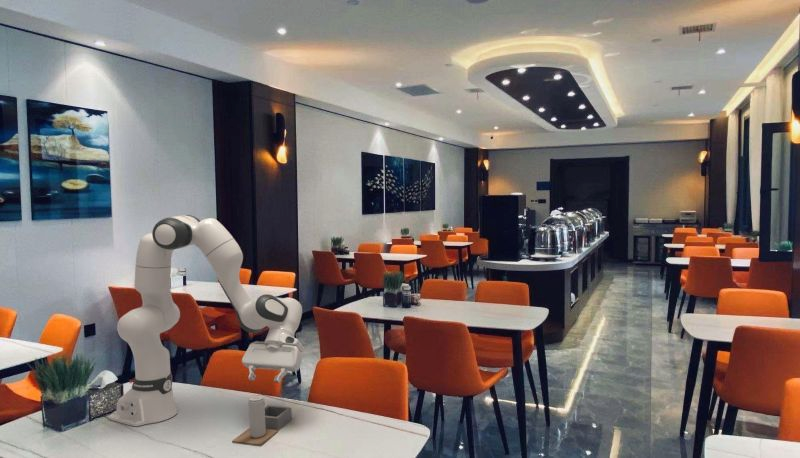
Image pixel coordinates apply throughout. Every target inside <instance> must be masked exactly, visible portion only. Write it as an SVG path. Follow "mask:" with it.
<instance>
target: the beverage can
mask: <svg viewBox="0 0 800 458" xmlns="http://www.w3.org/2000/svg"><path fill="white" fill-rule="evenodd" d="M247 401H248V403H247V404H248V422H249V428H250V436H251V437H253V438H260V437H263V436H264V435H265V433H266V427H265V407H266V406H265V405H266V404H265V396H264V395H262V394H261V395H260V394H255V395H252V396H250V397H249V398H248V400H247Z"/></svg>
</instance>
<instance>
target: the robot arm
mask: <svg viewBox="0 0 800 458" xmlns="http://www.w3.org/2000/svg"><path fill="white" fill-rule="evenodd" d="M192 245H193V246H195V247H197V248H198V249H199V250H200V252H201V253H202V255H204V257H205V258H206V260H207V261H208V263H209V264H210V267H211V268H212V269H213V271H214V273H215V276H216V278H217V281H218V283H219V285H220V287H221V289H222V291H223V292H224V294H225V296H226V297H227V299H228V301H229V302H230V304H231V306H232V308H233V310H234V311H235V315H236V318H237V322H238V324H239V327H240V328H241V329H242V330H243V331H245V332H247V333H249V334H258V333H260V332H261V331H263V330H264V329H265V328H266V327H268V328H269V330H268V333H267V335H266V338H265V339H264V341H263V340H262V341H261V340H260V341H259V340H254V341H253V342H250V343H249V345H248V348H247V349H246V351H245V353H244V354H243V356H242V359H241V363H242V364H243V366H244V367H245V368H248V371H249V375H248V380H250V381H255V379H256V378H257V375H256V374H255V373H254V372H255V371H256V370H257V369H261V370H271V371H272V370H273V371H280V372H279V374H278V375H276V374H275V376H274V378H273V381H274V383H277V384H280V383H281V381H282V379H283V378H284V377H285V376H286V375H287V374H288V372H295V373H296V372H298V371H299V369H300V368H301V365H302V361H303V352H304V351H305V350H304V349H305V348H304V346H303V344H302V343H301V342H300V340H299V339H298V338H295V334H296V331H297V330H298V328H299V326H300V323H301V319H302V316H303V305H302V304H301V303H300V301H298V300H297V299H295V298H292V297H284V298H283V297H278V296H274V295H272V294H262V295H260V296H259V297H257V298H256V299H254V300H252V299H251V298H250V297H249V294H247V291H246V290H245V288H244V286H243V285H242V283H241V280H240V271H241V267H242V265H243V260H244V254H243V251H242V249H241V246H240V245H239V243H238V242H237V241H236V239H235V238H234V237H233V235H232V234H231V233H230V231H228V230H227V228H226V227H225V226H224V225H223V224H222V223H221V222H220V221H218V220H217V219H216V218H213V217H209V218H204V219H199V218H198V217H196V216H193V215H191V214H182V215H181V214H180V215H179V214H177V215H174V216H171V217H165V218H163V219H162V218H161V220H159V221H158V222H156V223H155V225H154V226H153V229H152V232H149V233H146V234H144V235H142V236H141V238H140V239H139V243H138V247H137V250H136V257H135V268H134V270H135V271H134V289H135V291H136V292H138V293H139V294H140V296H141V300H142V304H141V306H140V307H137V308H134V309H131V310H129V311H128V312H126V313H125V314H123V315H122V316H121V317H120V318H119V319H118V321H117V325H116V330H117V333H118V336H119V337H120V338H121V340H123V341H124V342H126V343H127V344H128V346H129V348H130V349H131V352H132V356H133V361H134V373H135V376H134V378H132V379H129V381H128V382H129V384H132V386H131V388H130V389H129V390H128V391H126V392H125V393H123V395H122V396H121V397H120V398H119V399H118V400H117V403H116V410H114V411H113V412H112V413H111V414H110V415H109V416H108V419H109V420H110V421H113V422H114V421H115V422H118V423H121V424H125V425H128V426H133V427H140V426H144V425H149V424H156V423H159V422H163V421H166V420H168V419H171V418H172V417H174V416H175V415H176V414H178V408H177V404H176V401H175V397H174V392H173V374H172V371H171V360H170V359H171V358H170V357H171V356H170V351H169V349H167V348H166V347H165V346H164V345H163V343H162V340H161V338H160V337H161V334H162V333H164V332H166V331H169V330H171V329H172V328H173V327H174V326H175V325H176V324H177V323H178V322H179V321H180V318H181V311H180V308H179V307H178V304H176V303H175V302H174V299H173V297H172V291H171V273H172V271H171V270H172V269H171V268H172V256H173V252H174V251H175V250H177V249H183V248H184V249H185V248H187V247H189V246H192Z"/></svg>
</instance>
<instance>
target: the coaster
mask: <svg viewBox="0 0 800 458" xmlns="http://www.w3.org/2000/svg"><path fill="white" fill-rule="evenodd" d="M278 433H279V430H271V429H266V433H265V435H264V436H263V437H260V438H253V437H251V436H250V427H249V428H247V429H246V430H244V431H243V432H242V433H241V434H239V435H237V436H236V437H235V438H234V439H232V442H231V443H232V444H240V445H248V446H256V447H262V446H263V445H264V444H266V443H267V442H268V441H269V440H271V438H273V437H274V436H276V434H278Z"/></svg>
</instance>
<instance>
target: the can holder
mask: <svg viewBox="0 0 800 458" xmlns="http://www.w3.org/2000/svg"><path fill="white" fill-rule="evenodd" d="M292 412H293V411H292V407H290V406H279V405H270V404H268V405H266V406H265V427H266V429H271V430H278V431H280V430H281V429H282V428H283V427H285V426H286V425H287V424H288V423H289V422H290V421H292V420H293V418H292V417H293V414H292Z"/></svg>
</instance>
